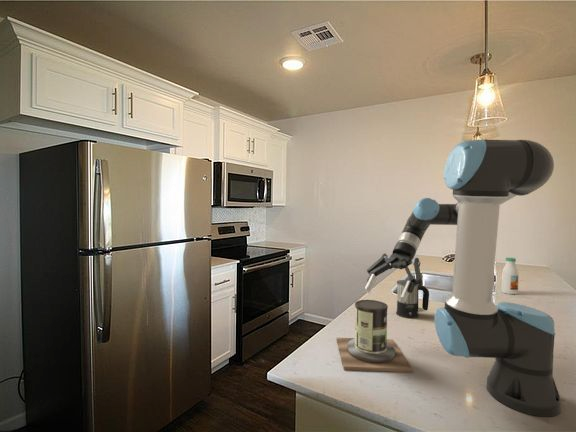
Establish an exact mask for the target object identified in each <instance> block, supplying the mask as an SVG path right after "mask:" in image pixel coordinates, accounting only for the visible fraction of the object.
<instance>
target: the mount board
mask: <svg viewBox="0 0 576 432" xmlns="http://www.w3.org/2000/svg"><path fill="white" fill-rule="evenodd" d="M336 343H337V344H336V345H337V347H338V352H339V353H338V354H339V355H340V360H341V364H342V368H343V370H344V371H365V372H369V371H371V372H392V373H393V372H394V373H413V371H414V370H413V367H412V366H411V364H410V363H409V361H408V359H406V356H404V354H403V352H402V351H401V349H400V348H399V347H398V345H397V343H396V342H395V340H394V339H392V338H391V339H390V338H389V339H387V350H386V351H385V352H384V353H381V354H369V353H364V352H362V351H359V350H358V349H357V348H356V347H355V337H336Z"/></svg>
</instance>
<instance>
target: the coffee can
mask: <svg viewBox="0 0 576 432" xmlns="http://www.w3.org/2000/svg"><path fill="white" fill-rule="evenodd" d="M388 307H389V306H388V304H387V303H385V302H382V301H381V300H374V299H361V300H359V299H358V300H356V301H355V302H354V308H355V310H354V311H355V312H354V317H355V318H354V321H355V322H354V338H355V347H356V348H357V349H358V350H359V351H362V352H364V353H369V354H381V353H384V352H385V351H386V350H387V337H388V334H387V333H388V330H387V329H388Z"/></svg>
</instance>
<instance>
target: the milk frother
mask: <svg viewBox="0 0 576 432" xmlns="http://www.w3.org/2000/svg"><path fill="white" fill-rule="evenodd" d="M407 281H410V279H409V280H408V279H398V280H397V281H396V284H397V287H396V289H397V290H396V291H397V294H396V295H397V296H396V299H397V300H396V315H397V316H399V317H402V318H406V319H415V318H418V317H419V314H418V313H419V291H422V302H421V303H422V305H421V307H422V310H423V311H428V309H429V302H430V301H429V300H430V291H429V289H428V288H427V287H426V286H425V285H423V284H422V285H419V284H417V285H415V287H414V289H413V292H412V293H409V295H408V297H407V300H406V302H404V301H403V300H402V298H401V295H402V292H403V290H404V288H405V286H406V283H407ZM410 282H411V281H410Z"/></svg>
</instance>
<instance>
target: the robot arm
mask: <svg viewBox="0 0 576 432" xmlns="http://www.w3.org/2000/svg"><path fill="white" fill-rule="evenodd" d="M554 168H555V163H554V158H553V155H552V154H551V152H550V150H549V149H548V148H547V147H545V146H544V145H542V144H541V143H539V142H537V141H534V140H530V139H486V138H485V139H469V140H464V141H461V142H459V143H457V144H455V146H454V147H453V148H452V149H451V151H450V153H449V154H448V155H447V159H446V162H445V166H444V170H443V171H444V172H443V179H444V184H445V186H446V187H447V188H448V189H450V190H452V197H453V198H454V199H455V200H456V201H457V202H456V203H438V201H436V200H435V199H432V198H431V197H424V198H421V199H420V200H418V202H417V203H416V204H415V205H414V207H413V209H412V211H411V214H410V216H409V217H408V218H407V220H406V223H405V225H404V227H403V230H402V231H401V234H400V235H399V238H398V239H397V242H396V244H395V245H394V247H393V250H392V254H390V255H387V253H383V254H382V255H381V257H380V258H378V260H377V261H375V262H373V264H371V266H369V267H368V268H367V269H366V271H367V273H368V275H369V276H368V277H367V278H366V279H367V280H366V285H365V287H364V290H365V291H366V292H367V293H368V294H370V293H371V291H372V289H373V286H374V284H375V282H376V280H377V276H379V275H381V274H383V273H384V272H386V271H388V270H392V269H396V270H397V269H399V270H405V272H406V275H407V276H408V279H409V280H410V281H411V282H410V281H407V283H406V286H405V288H404V290H403V292H402V295H401V298H402V300H403V301H404V302H406V300H407V297H408V295H409V293H412V292H413V289H414V287H415V285H417V284H418V285H422V286H423V280H422V275H421V269H420V265H421V261H420V259H419V257H415V255H416V253H417V251H418V248H419V246H420V244H421V241H422V240H423V237H424V235H425V233H426V231H427V230H428V228H429V227H431V226H432V225H435V226H437V225H439V226H441V225H442V226H456V237H455V251H454V261H453V262H454V263H453V264H454V265H453V278H452V291H451V294H450V295H448V296H446V297H445V299H444V307H443V306H441V307H438V308H436V309H435V311H434V327H435V331H436V335H437V337H438V340H439V342H440V344H441V346H442V348H443V349H444V350H445V352H447V353H448V354H449V355H451V356H454V357H463V358H485V359H486V358H491V359H492V358H493V359H495V360H494V363H493V365H492V367H491V369H490V371H489V373H488V375H487V378H486V390H487V392H488V393H489V395H490V396H492V397H493V398H494V399H496V401H498V402H499V403H501V404H503V405H504V406H505V407H506V406H507V407H509V408H511V409H512V410H516V411H519V412H522V413H523V414H528V415H532V416H536V417H537V416H538V417H554V416H557V415H558V414H560V413H561V411H562V399H561V397H560V393H559V391H558V388H557V385H556V382H555V378H554V376H553V374H554V372H553V371H554V370H553V369H554V347H555V336H556V331H555V321H554V318H553V317H552V316H551V315H550V314H548V313H546V312H544V311H542V310H540V309H536V308H534V307H531V306H527V305H523V304H519V303H513V302H510V301H509V302H507V301H501V302H498V303H497V305H496V304H495V303H494V302H493V300H492V297H493V288H494V287H493V286H494V285H493V284H494V275H495V273H494V272H495V264H496V255H497V254H496V251H497V239H498V231H499V229H498V228H499V220H500V219H499V218H500V206H501V205H502V204H504V203H506V202H507V201H509V200H511V199H513V198H516V197H517V196H520V197H521V196H527V195H529V194H531V193H533V192H535V191H537V190H538V189H540V188H542V187H543V186H545V184H546V183H547V182H548V181H550V180H551V177H552V175H553V174H554ZM549 179H550V180H549ZM410 265H413V267H414V273H415V274H414V275H415V278H414V276H413V274H412V272H411V270H410V268H409V266H410Z"/></svg>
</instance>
